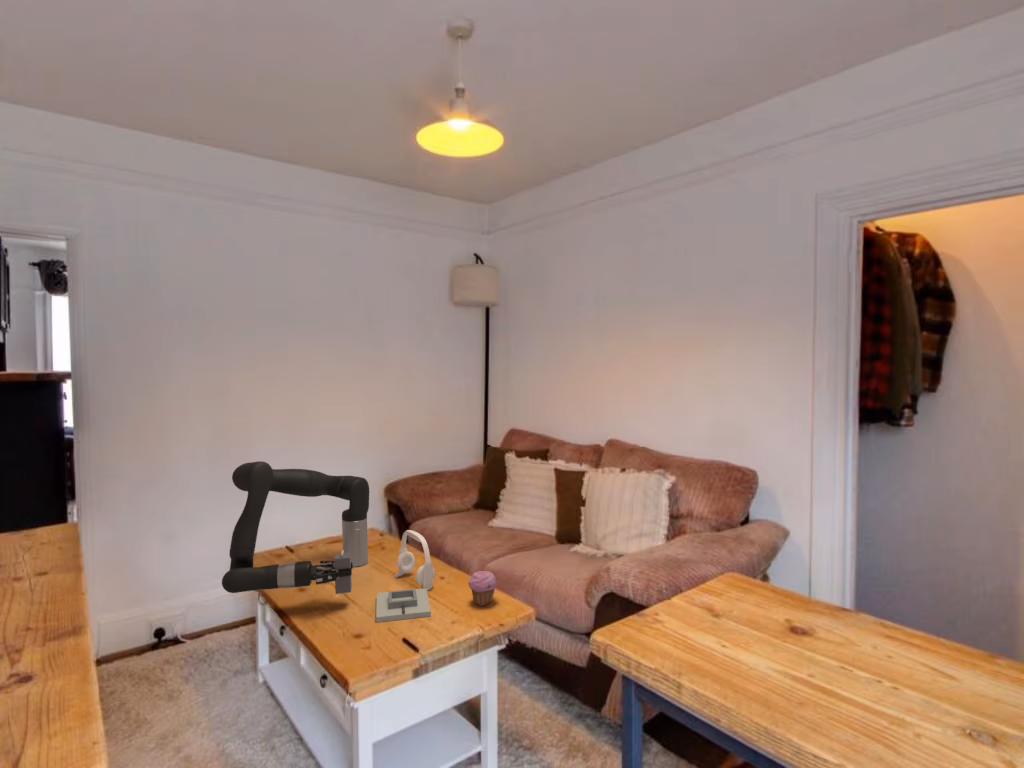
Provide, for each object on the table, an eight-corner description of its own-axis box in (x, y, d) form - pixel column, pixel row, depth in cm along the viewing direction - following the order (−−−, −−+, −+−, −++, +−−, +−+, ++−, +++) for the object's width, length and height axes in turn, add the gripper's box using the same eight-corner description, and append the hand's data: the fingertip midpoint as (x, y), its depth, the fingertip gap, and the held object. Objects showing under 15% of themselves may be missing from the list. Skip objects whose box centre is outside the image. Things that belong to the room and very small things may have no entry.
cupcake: (464, 601, 181) (463, 570, 181) (486, 594, 187) (486, 564, 186) (479, 611, 174) (478, 579, 174) (502, 603, 179) (501, 572, 179)
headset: (438, 589, 191) (437, 537, 190) (419, 595, 187) (418, 541, 186) (411, 572, 207) (410, 523, 207) (393, 576, 203) (392, 527, 202)
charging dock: (376, 597, 185) (376, 587, 185) (426, 592, 189) (426, 582, 189) (376, 622, 168) (375, 610, 168) (430, 616, 171) (430, 604, 171)
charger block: (336, 587, 181) (335, 549, 180) (351, 586, 182) (350, 548, 181) (335, 593, 176) (334, 554, 176) (350, 592, 178) (349, 553, 177)
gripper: (290, 571, 169) (350, 565, 172) (297, 554, 182) (352, 549, 186) (291, 596, 169) (351, 589, 173) (298, 577, 183) (353, 571, 187)
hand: (351, 568), depth 179 cm, fingers closed on charger block, 4 cm apart
